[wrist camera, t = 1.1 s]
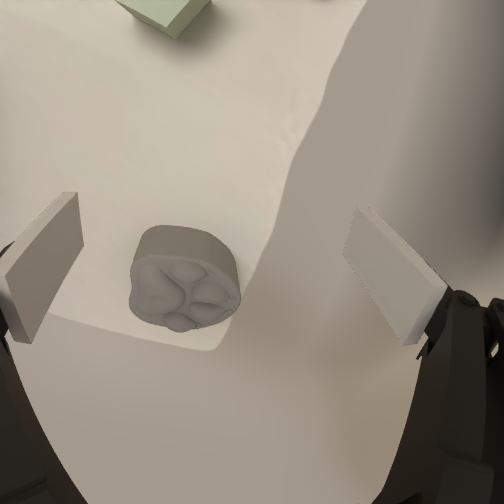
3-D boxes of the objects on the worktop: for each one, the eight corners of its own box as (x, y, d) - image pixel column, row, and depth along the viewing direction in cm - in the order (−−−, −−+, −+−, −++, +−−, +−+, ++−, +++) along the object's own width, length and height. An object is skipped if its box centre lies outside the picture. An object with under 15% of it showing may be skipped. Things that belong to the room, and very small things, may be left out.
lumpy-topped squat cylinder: (142, 219, 37) (128, 256, 29) (244, 237, 40) (253, 276, 33) (137, 286, 42) (126, 330, 34) (227, 300, 45) (232, 344, 37)
